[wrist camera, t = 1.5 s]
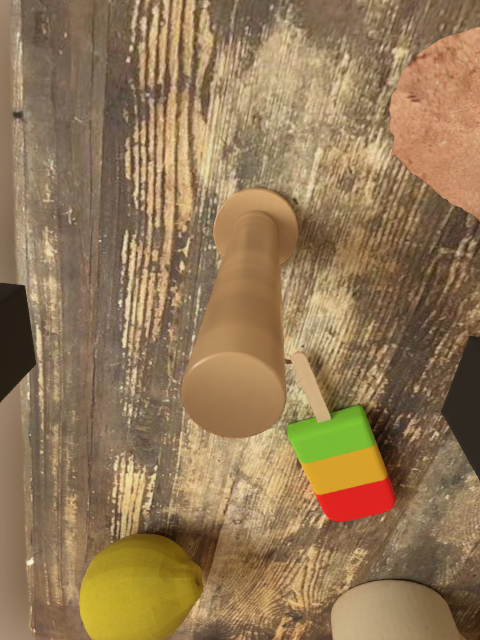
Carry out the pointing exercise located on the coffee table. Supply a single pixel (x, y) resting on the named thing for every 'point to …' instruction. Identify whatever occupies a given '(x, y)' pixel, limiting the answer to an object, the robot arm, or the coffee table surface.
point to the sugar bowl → (392, 613)
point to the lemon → (139, 589)
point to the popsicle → (339, 455)
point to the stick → (243, 320)
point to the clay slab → (442, 118)
